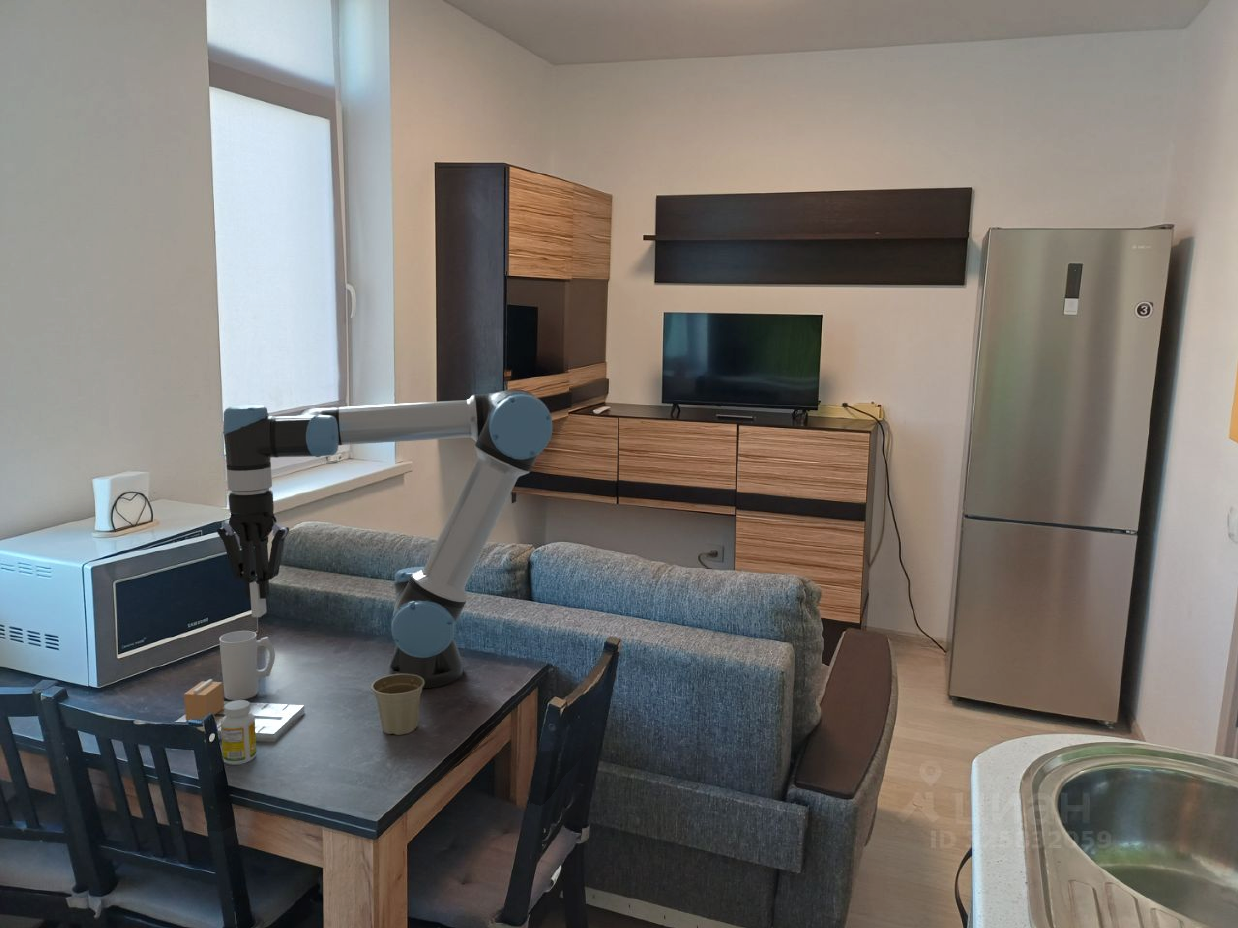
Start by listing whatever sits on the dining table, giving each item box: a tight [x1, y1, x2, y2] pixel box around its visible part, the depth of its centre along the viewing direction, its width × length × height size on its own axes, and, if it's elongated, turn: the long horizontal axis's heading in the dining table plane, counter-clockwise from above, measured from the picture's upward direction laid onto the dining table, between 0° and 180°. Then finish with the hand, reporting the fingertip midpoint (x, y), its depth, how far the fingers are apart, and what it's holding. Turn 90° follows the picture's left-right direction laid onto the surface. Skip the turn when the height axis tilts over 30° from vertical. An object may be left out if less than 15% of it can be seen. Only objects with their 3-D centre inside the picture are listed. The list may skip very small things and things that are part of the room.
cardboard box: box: [183, 678, 225, 720], centre depth 168 cm, size 4×6×6 cm, turn 174°
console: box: [174, 700, 305, 743], centre depth 168 cm, size 20×12×2 cm, turn 84°
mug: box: [218, 630, 276, 701], centre depth 181 cm, size 10×7×12 cm, turn 121°
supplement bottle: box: [221, 699, 257, 766], centre depth 155 cm, size 5×5×10 cm
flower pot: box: [370, 674, 425, 736], centre depth 166 cm, size 9×9×9 cm
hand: (259, 614), depth 170 cm, fingers closed
